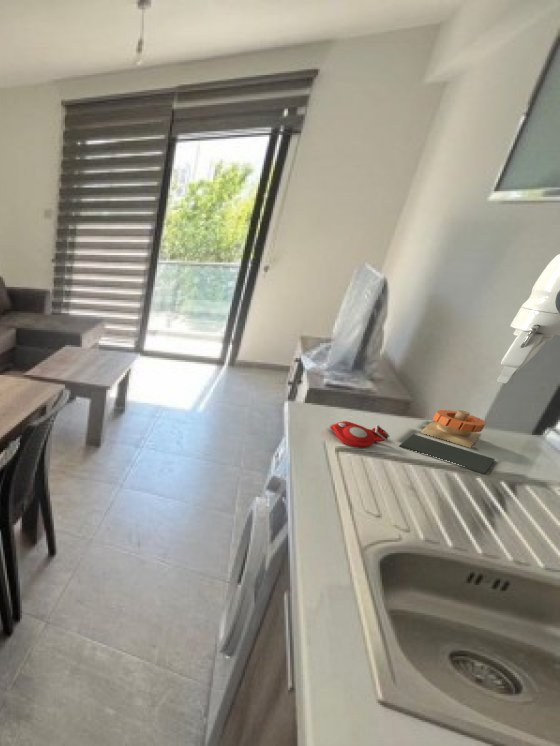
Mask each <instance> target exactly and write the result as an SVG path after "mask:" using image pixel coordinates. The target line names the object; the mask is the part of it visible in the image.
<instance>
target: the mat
mask: <svg viewBox="0 0 560 746" xmlns="http://www.w3.org/2000/svg"><path fill="white" fill-rule="evenodd" d="M398 447H399V448H402V449H405V448H406V450H408V449H410V450H409V451H411V450H413V451H412V452H414V451H417V452H416V453H418V452H420V453H419V454H421V453H424V454H428V455H431V456H434V457H437V458H440V459H443V460H447V461H450V462H453V463H456V464H459V465H462V466H465V467H467V468H470V469H472V470H471V471H473V470H475V471H474V472H476V471H477V472H476V473H480V474H482V475H485V474H486V472H487V471H488V470H489V468H490V466H492V464H493V463H494V461H496V459H495V458H493V457H489V456H486V455H483V454H481V453H477V452H474V451H471V450H467V449H464V448H460V447H457V446H454V445H451V444H447V443H444V442H441V441H437V440H434V439H431V438H427V437H424V436H421V435H418V434H414V433H413V434H410V436H409V437H407V438H406V439H405V440H404V441H403V442H402V443H400V444H399V445H398ZM424 454H423V455H424ZM467 468H466V469H467ZM470 469H469V470H470Z"/></svg>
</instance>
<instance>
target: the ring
mask: <svg viewBox="0 0 560 746" xmlns="http://www.w3.org/2000/svg"><path fill="white" fill-rule="evenodd" d="M457 411H458V410H457ZM457 411H456V410H450V409H448V410H447V409H439V410H437V411H436V412H435V414H434V416H433V417H432V420H435V421H436V422H438V423H440V424H442V425H444V426H448V427H450V428H454V429H457V430H458V429H459V430H462V431H468V432H478V433H481V432H482V431H483V429H484V428H485V426H486V425H487V422H486V421H485V420H483V419H481V418H480V417H477V416H474V415H471V414H470V415H469V417H468V418H467V420H466V421H461V420H458V419H454V417H455V415H456V413H457Z"/></svg>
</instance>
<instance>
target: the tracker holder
mask: <svg viewBox="0 0 560 746" xmlns="http://www.w3.org/2000/svg"><path fill="white" fill-rule="evenodd" d="M330 429H331V430H332V431H333V432H334V434H335V435H336V437H337V439H338V440H340V441H341V442H342V443H343V444H344V445H347V446H350V447H353V448H357V447H358V448H357V449H362V448H363V449H364V448H365V449H366V448H369V447H370V446H372V445H373V444H374V443H375V442H376V443H378V442H379V443H380V442H388V441H389V438H390V437H391V436H390V434H389V433H388V432H387V431H386V429H385V430H384V429H383V428H382V427H381V426H380V425H378V424H376V425H375V427H373V428H372V429H370V428H367V427H365V426H363V425H359V424H357V423H354V422H351V421H346V420H343V421H339V422H336V423H334V424H332V425H330Z"/></svg>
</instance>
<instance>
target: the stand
mask: <svg viewBox="0 0 560 746" xmlns="http://www.w3.org/2000/svg"><path fill="white" fill-rule="evenodd" d="M469 415H470V416H471V413H470V412H469V411H466V410H460V409H459V410H457V413H456V415H455V417H454V419H458V420H461V421H466V420H467V418H468V417H469ZM421 434H423V435H426V434H427V435H426V436H429V435H430V437H433V436H434V437H433V438H436V437H437V439H439V438H440V439H439V440H442V441H446V440H447V442H449V441H450V442H449V443H453V444H456V445H460V446H463V447H467V448H470V449H471V448H472V447H473V446H474V445H475V444H476V442H477V441H478V440H479V439H480V438H481V436H482V433H481V432H468V431H462V430H459V429H458V430H457V429H454V428H450V427H448V426H444V425H442V424H440V423H438V422H436V421H435V420H434V419H432V421H431V422H430V423H428V424H427V425H426V426H425V427H424V428H423V429H422V431H421Z"/></svg>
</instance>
